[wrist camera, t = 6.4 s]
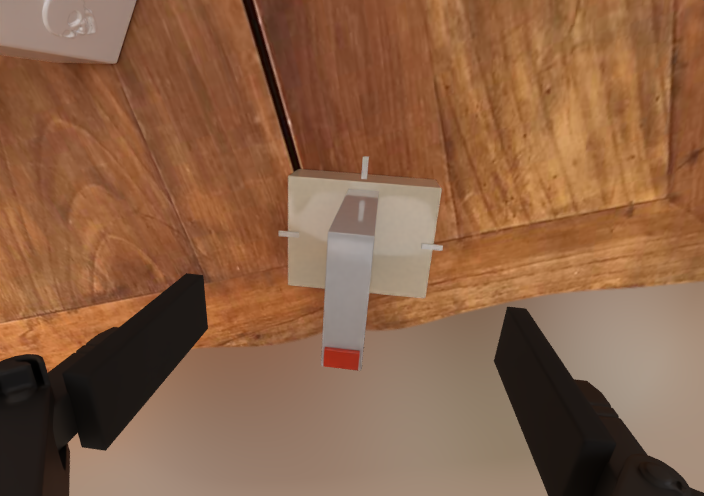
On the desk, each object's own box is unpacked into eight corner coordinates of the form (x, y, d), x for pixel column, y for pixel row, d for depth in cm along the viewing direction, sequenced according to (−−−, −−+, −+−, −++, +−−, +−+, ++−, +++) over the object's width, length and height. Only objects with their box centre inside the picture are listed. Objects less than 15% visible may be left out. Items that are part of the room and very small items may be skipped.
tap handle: (348, 188, 24) (326, 233, 15) (379, 191, 24) (374, 238, 15) (341, 284, 27) (319, 369, 18) (369, 287, 26) (360, 374, 18)
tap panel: (448, 157, 26) (456, 163, 23) (426, 299, 30) (430, 320, 27) (290, 145, 26) (277, 150, 23) (289, 285, 30) (279, 304, 27)
